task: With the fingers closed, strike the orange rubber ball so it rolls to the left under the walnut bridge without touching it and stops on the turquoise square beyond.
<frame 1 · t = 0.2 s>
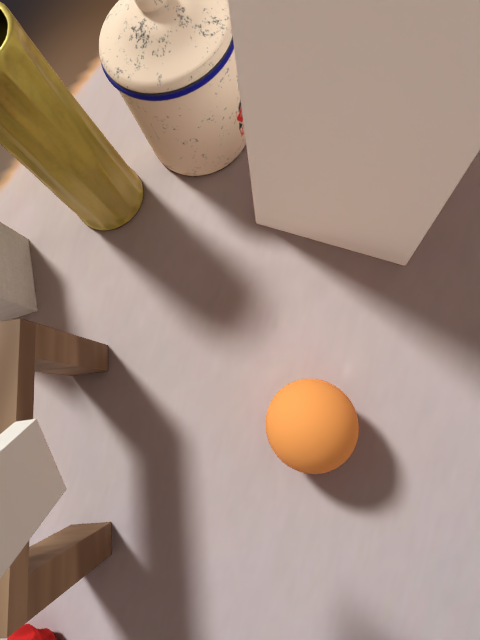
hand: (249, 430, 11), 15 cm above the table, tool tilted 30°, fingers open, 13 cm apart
milk: (352, 176, 28), on the table
bridge: (90, 444, 27), on the table
lidded canister: (195, 123, 32), on the table
ball: (311, 424, 22), on the table
white gabled box: (15, 281, 31), on the table
vase: (111, 200, 31), on the table
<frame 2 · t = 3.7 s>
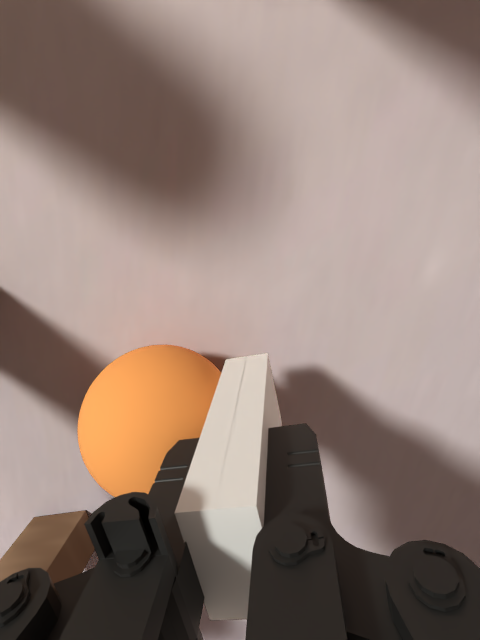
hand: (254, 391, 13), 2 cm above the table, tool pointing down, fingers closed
bridge: (17, 426, 17), on the table
ball: (161, 421, 13), on the table
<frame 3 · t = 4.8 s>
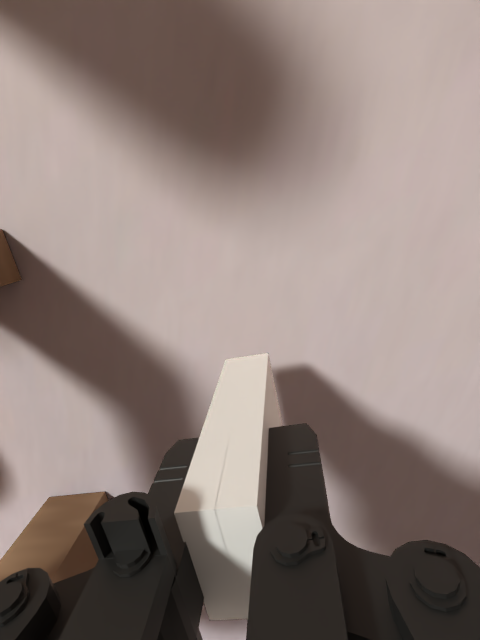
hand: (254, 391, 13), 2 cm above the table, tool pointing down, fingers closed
bridge: (37, 400, 16), on the table
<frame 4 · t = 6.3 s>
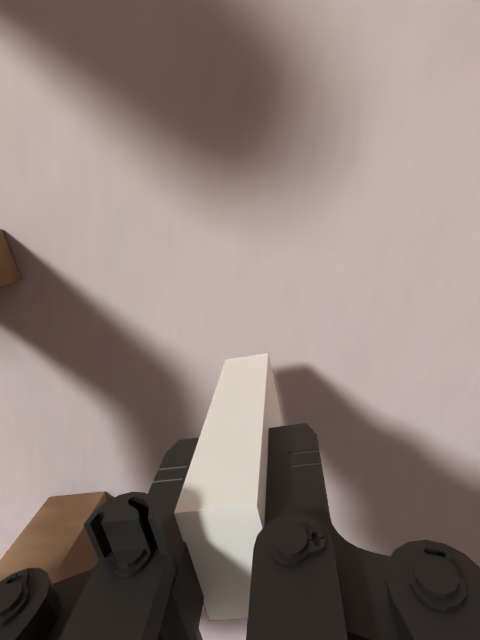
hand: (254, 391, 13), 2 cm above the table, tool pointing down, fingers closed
bridge: (37, 400, 16), on the table
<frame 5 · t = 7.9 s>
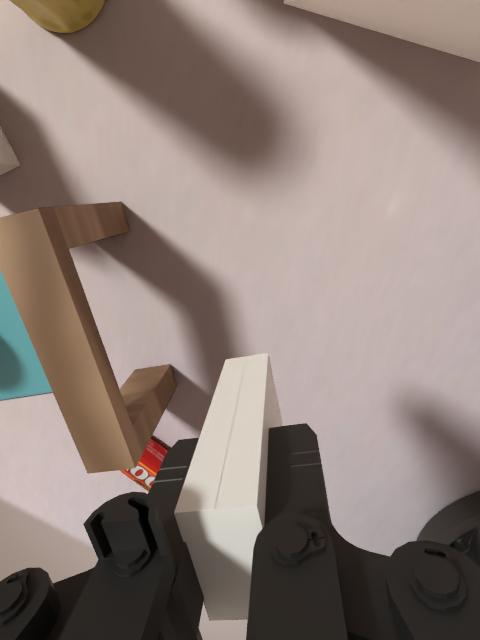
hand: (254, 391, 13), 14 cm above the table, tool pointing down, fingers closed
bridge: (132, 305, 27), on the table
candy bar: (194, 478, 33), on the table
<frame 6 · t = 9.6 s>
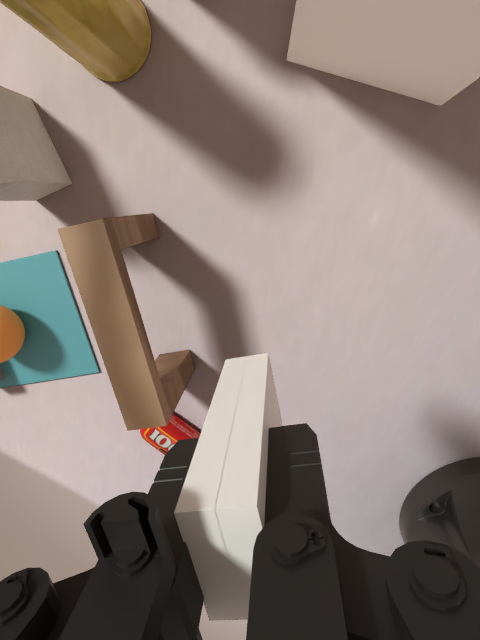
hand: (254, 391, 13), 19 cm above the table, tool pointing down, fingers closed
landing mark: (23, 324, 35), on the table
bridge: (159, 299, 33), on the table
candy bar: (209, 449, 38), on the table
white gabled box: (35, 151, 30), on the table
vase: (112, 35, 27), on the table
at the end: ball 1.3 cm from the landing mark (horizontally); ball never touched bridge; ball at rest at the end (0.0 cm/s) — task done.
